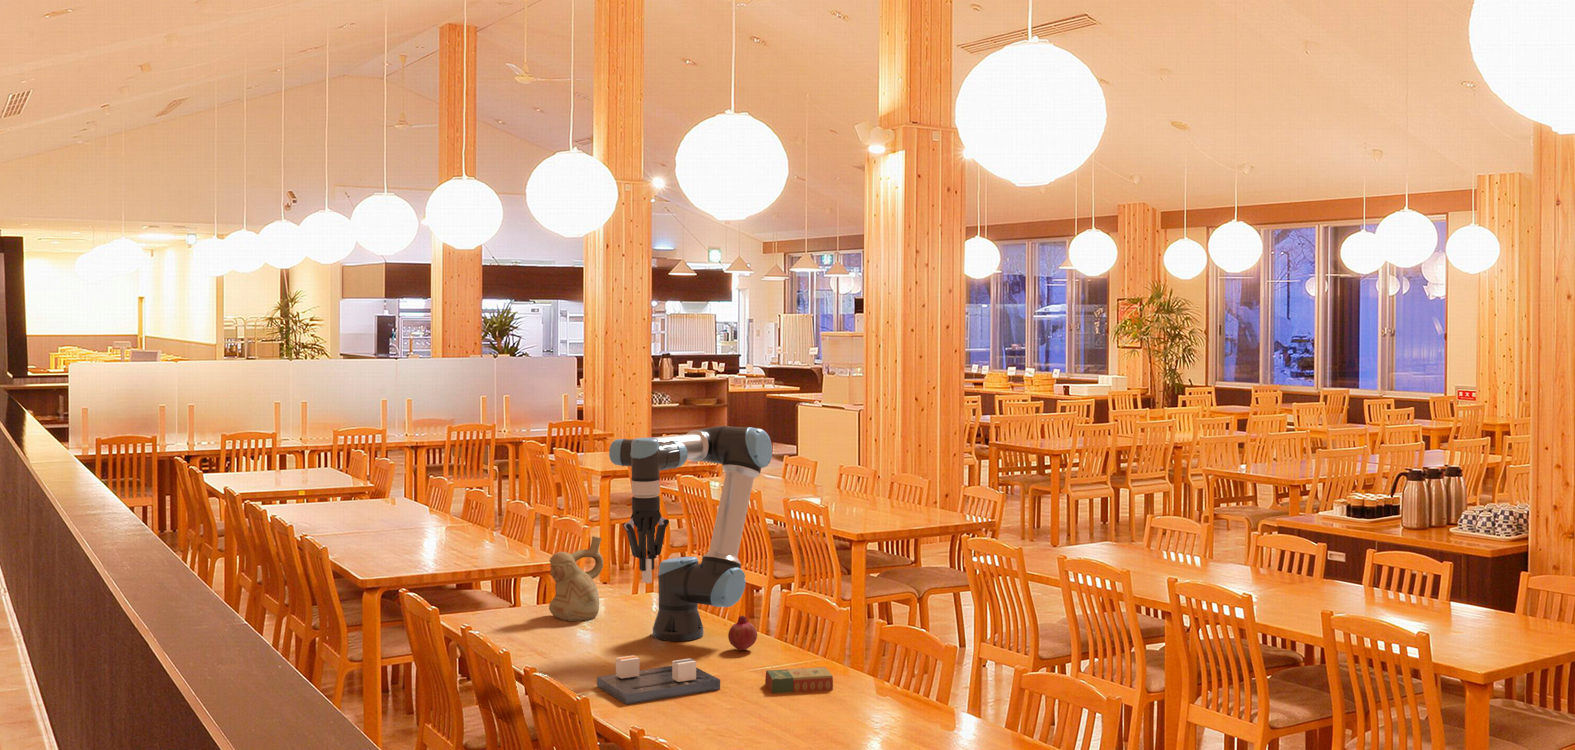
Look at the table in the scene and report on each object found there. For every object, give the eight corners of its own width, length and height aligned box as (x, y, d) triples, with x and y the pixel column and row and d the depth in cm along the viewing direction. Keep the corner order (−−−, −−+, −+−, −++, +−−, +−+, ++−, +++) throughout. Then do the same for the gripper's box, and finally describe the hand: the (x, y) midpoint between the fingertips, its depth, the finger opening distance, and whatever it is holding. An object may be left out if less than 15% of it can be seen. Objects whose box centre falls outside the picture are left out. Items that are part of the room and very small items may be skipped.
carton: (833, 691, 324) (833, 675, 323) (771, 695, 320) (771, 678, 320) (825, 682, 332) (825, 666, 332) (765, 685, 328) (765, 669, 328)
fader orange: (633, 672, 328) (633, 654, 328) (639, 675, 325) (639, 657, 325) (615, 675, 325) (615, 657, 325) (621, 678, 322) (621, 660, 322)
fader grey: (689, 675, 325) (689, 657, 325) (696, 679, 322) (696, 660, 322) (672, 678, 323) (672, 660, 323) (678, 681, 320) (678, 663, 320)
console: (687, 672, 339) (688, 662, 339) (720, 689, 324) (720, 679, 323) (597, 686, 325) (597, 676, 325) (626, 704, 310) (626, 693, 310)
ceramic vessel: (536, 617, 402) (535, 538, 401) (588, 608, 415) (588, 532, 414) (565, 627, 389) (565, 545, 388) (618, 617, 403) (618, 538, 402)
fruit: (734, 655, 357) (734, 619, 357) (724, 648, 364) (724, 613, 364) (761, 652, 360) (761, 617, 360) (750, 645, 368) (750, 611, 367)
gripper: (660, 491, 349) (662, 576, 351) (617, 496, 342) (619, 582, 343) (673, 495, 343) (675, 581, 344) (630, 499, 336) (631, 588, 337)
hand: (647, 582), depth 344 cm, fingers closed
